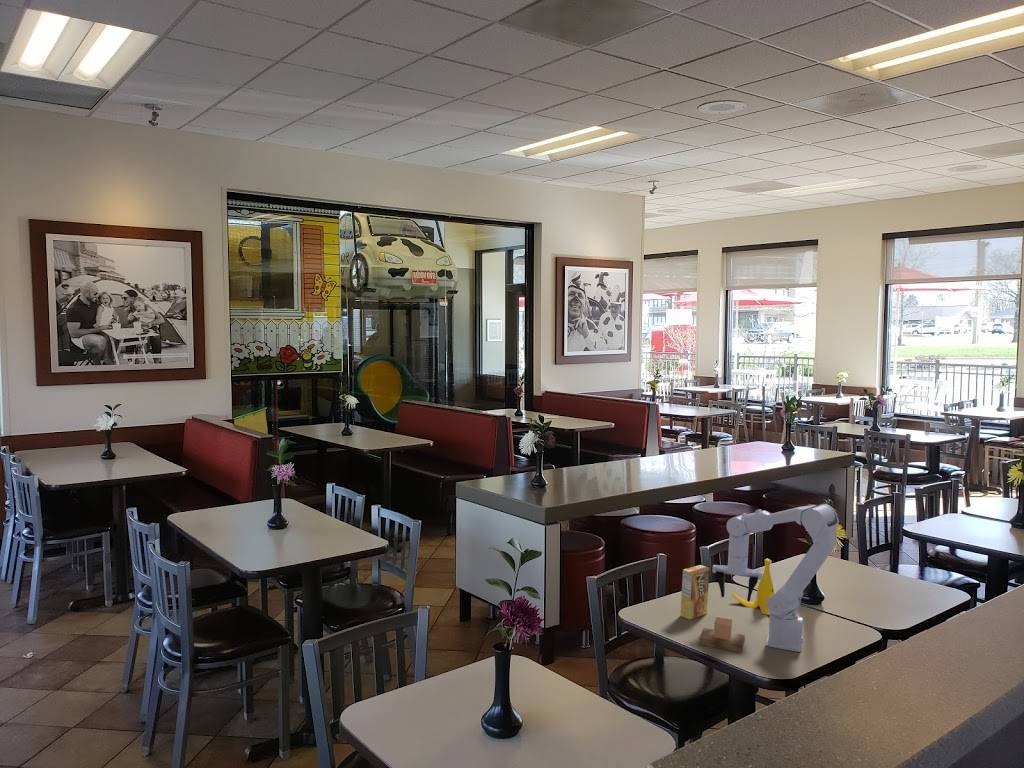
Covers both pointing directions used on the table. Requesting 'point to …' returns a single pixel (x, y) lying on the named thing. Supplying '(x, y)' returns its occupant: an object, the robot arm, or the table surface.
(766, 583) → the banana peel
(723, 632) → the terracotta cube
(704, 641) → the walnut board
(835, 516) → the robot arm
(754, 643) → the table surface
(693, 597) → the candy box
